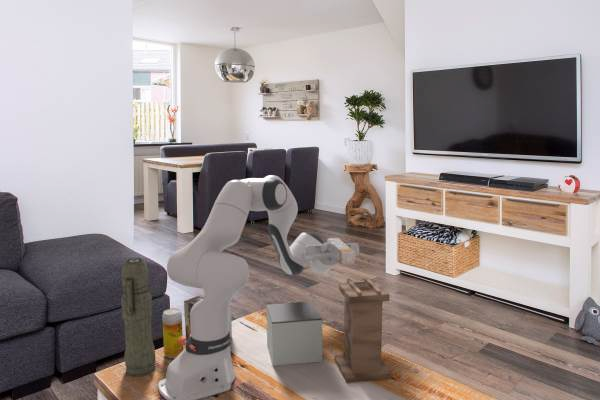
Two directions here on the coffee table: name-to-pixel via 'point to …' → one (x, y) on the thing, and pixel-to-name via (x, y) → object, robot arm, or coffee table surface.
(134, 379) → the coffee table surface
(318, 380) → the coffee table surface
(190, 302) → the coffee box
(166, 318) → the beer can
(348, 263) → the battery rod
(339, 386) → the coffee table surface
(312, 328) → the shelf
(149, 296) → the thermos
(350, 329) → the stand
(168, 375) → the robot arm
